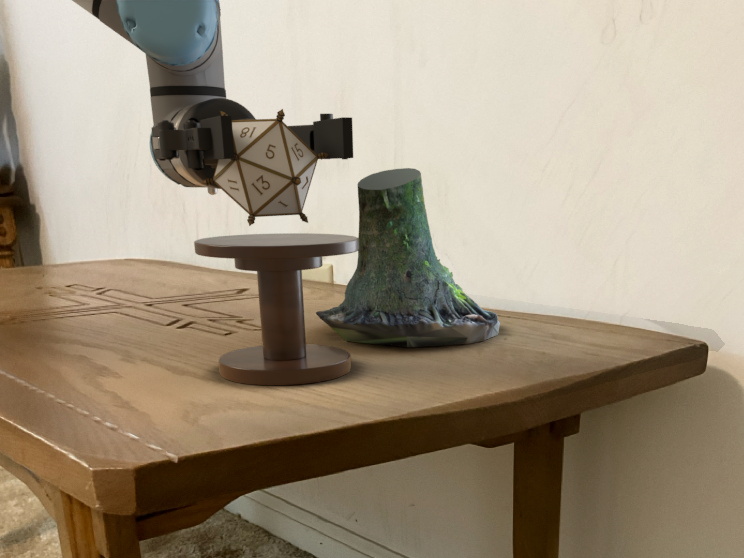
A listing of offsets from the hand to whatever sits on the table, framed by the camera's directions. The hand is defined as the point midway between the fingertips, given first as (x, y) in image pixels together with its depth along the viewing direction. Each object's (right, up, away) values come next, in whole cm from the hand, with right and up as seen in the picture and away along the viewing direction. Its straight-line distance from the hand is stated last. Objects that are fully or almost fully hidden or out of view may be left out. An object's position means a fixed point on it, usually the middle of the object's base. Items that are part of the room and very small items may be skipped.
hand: (289, 137), depth 61 cm
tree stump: (+9, -8, +26) cm, 29 cm away
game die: (-2, -4, +6) cm, 8 cm away
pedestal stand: (-2, -14, +11) cm, 18 cm away
